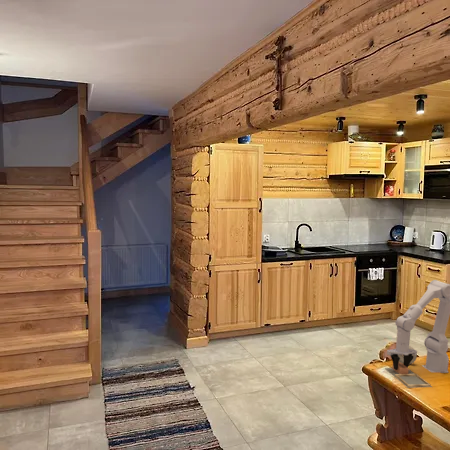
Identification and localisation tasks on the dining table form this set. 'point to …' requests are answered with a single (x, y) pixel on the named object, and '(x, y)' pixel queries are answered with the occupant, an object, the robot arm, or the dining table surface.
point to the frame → (414, 384)
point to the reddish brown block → (401, 369)
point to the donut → (403, 357)
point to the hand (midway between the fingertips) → (400, 369)
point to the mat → (407, 378)
